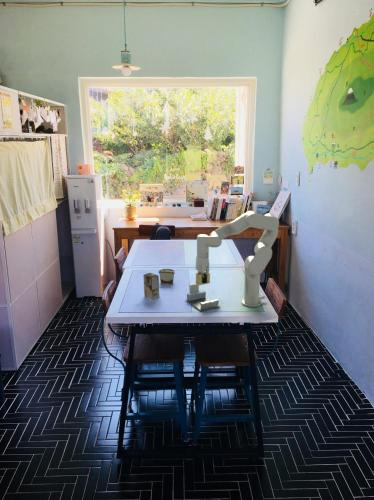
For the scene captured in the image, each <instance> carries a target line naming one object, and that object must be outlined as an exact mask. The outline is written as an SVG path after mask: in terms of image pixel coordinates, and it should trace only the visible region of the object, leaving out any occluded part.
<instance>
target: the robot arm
mask: <svg viewBox="0 0 374 500" xmlns="http://www.w3.org/2000/svg"><path fill="white" fill-rule="evenodd" d="M279 226H280V221H279V219H278V218H277V217H276V216H275V215H274V214H273V213H269V212H268V213H265V214H259V213H257V212H255V211H254V210H248V211H246V212H245V213H243V214H241V215H240V216H239V217H237V218H235V219H234V220H232V221H230V222H229V223H226V224H224V225H222V226H220V227H218V228H216V229H215V230H213V231H212V232H211V233H210V234H209V235H208V234H203V233H202V234H198V235H197V236H196V258H195V270H196V271H197V273H199V272H201V273H203V277H202V283H207V277H208V275H209V273H210V258H209V257H210V248H214V249H215V248H216V249H217V248H219V247H220V246H221V245H222V243H223V242H222V241H223V239H225V238H227V237H229V236H232V235H233V236H234V235H239V234H241V233H242V232H244V231H245V230H247V229H249V228H250V227H251V228H254V229H259V230H263V233H262V234H261V236H260V238H259V239H258V241H257V243H256V244H255V246H254V249H253V250H254V253H255V254H254V255H248V256H247V257H246V258H245V260H244V264H243V266H244V291H243V293H244V296H243V299H242V300H241V304H242V305H243V306H245V307H249V308H257V307H259V306H261V305H262V300H265V299H266V296H265V295H260V287H261V286H260V282H261V273H262V272H263V271H264V270H265V268H266V267H267V265H268V264H269V262H270V260H271V259H272V256H273V250H272V247H273V245H274V243H275V241H276V239H277V237H278V233H279ZM205 271H206V272H205ZM205 273H206V274H205ZM204 274H205V275H204Z"/></svg>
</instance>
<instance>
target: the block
mask: <svg viewBox="0 0 374 500" xmlns="http://www.w3.org/2000/svg"><path fill="white" fill-rule="evenodd" d="M205 272H206V271H205ZM205 274H206V273H205ZM205 274H204V275H205ZM202 277H203V273H201V272H199V273H198V272H195V283H196V284H197V285H199V286H202V285H208V284H210V283H211V272H209V275H208V277H207V283H202Z"/></svg>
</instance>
